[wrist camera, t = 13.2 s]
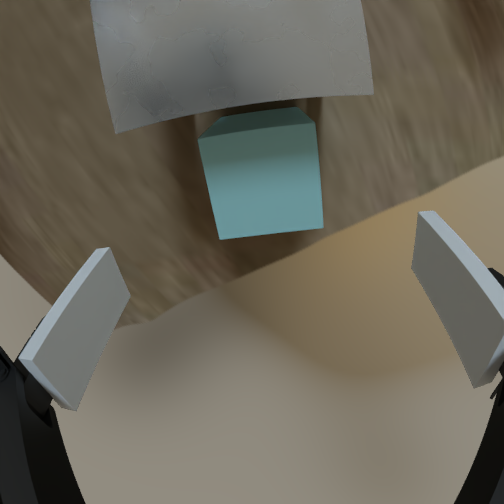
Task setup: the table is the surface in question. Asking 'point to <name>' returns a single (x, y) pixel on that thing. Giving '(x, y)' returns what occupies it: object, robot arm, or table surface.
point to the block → (263, 173)
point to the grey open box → (225, 54)
